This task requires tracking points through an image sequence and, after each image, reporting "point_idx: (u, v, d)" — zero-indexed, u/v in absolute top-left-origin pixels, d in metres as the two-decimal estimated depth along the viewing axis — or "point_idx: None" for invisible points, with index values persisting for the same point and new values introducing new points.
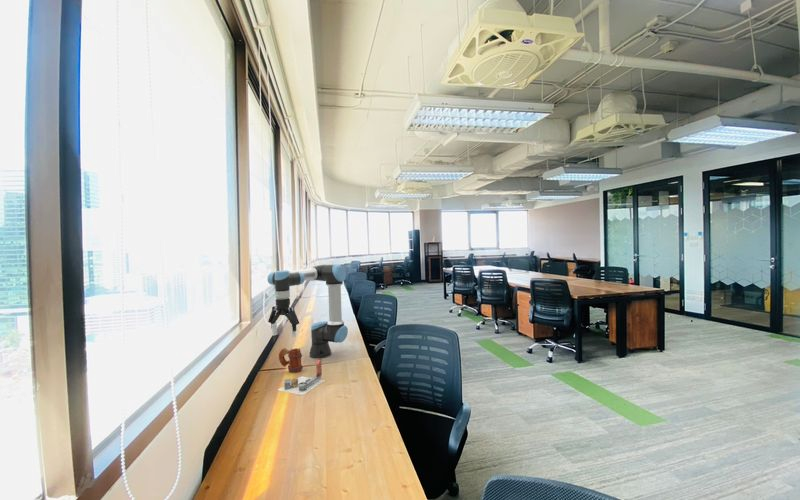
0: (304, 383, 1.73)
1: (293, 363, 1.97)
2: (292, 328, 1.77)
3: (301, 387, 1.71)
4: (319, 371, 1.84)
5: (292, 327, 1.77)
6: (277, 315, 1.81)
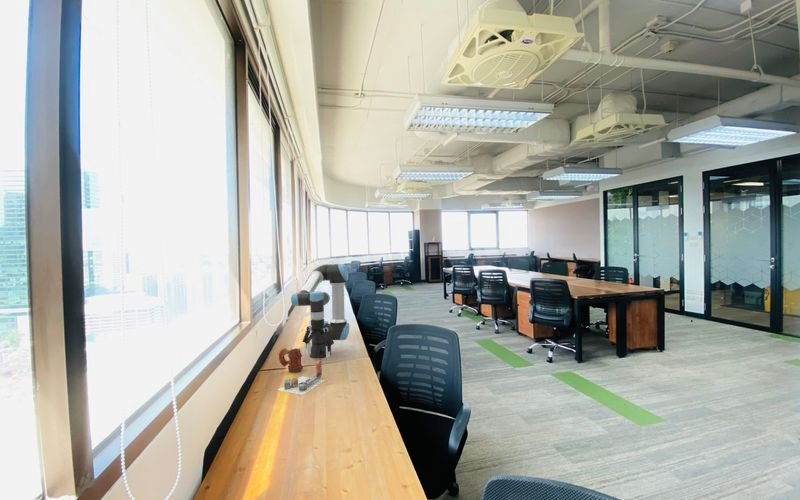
0: (304, 383, 1.73)
1: (293, 363, 1.97)
2: (327, 348, 1.81)
3: (301, 387, 1.71)
4: (319, 371, 1.84)
5: (327, 347, 1.81)
6: (312, 335, 1.85)
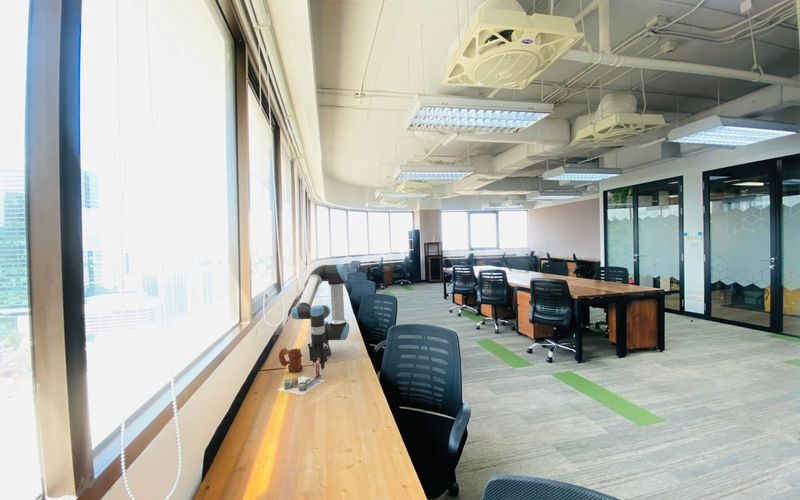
0: (304, 383, 1.73)
1: (293, 363, 1.97)
2: (320, 366, 1.84)
3: (301, 387, 1.71)
4: (319, 371, 1.84)
5: (320, 365, 1.84)
6: (315, 351, 1.85)
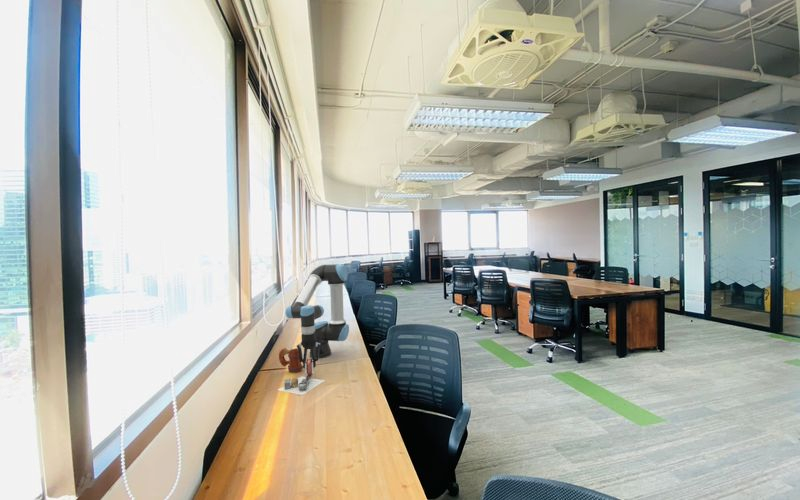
0: (304, 383, 1.74)
1: (293, 363, 1.97)
2: (313, 364, 1.86)
3: (303, 387, 1.71)
4: (311, 370, 1.86)
5: (313, 364, 1.86)
6: (306, 351, 1.85)
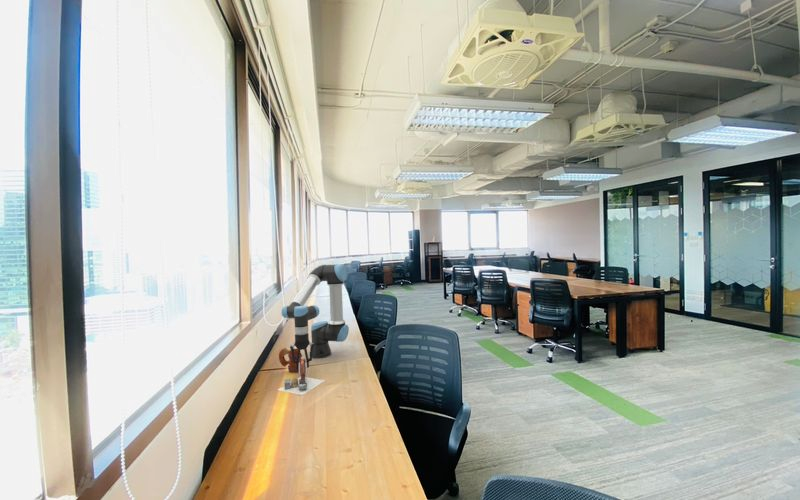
0: (303, 383, 1.74)
1: (293, 363, 1.97)
2: (306, 365, 1.86)
3: (304, 386, 1.71)
4: (304, 371, 1.86)
5: (306, 364, 1.86)
6: (299, 351, 1.85)
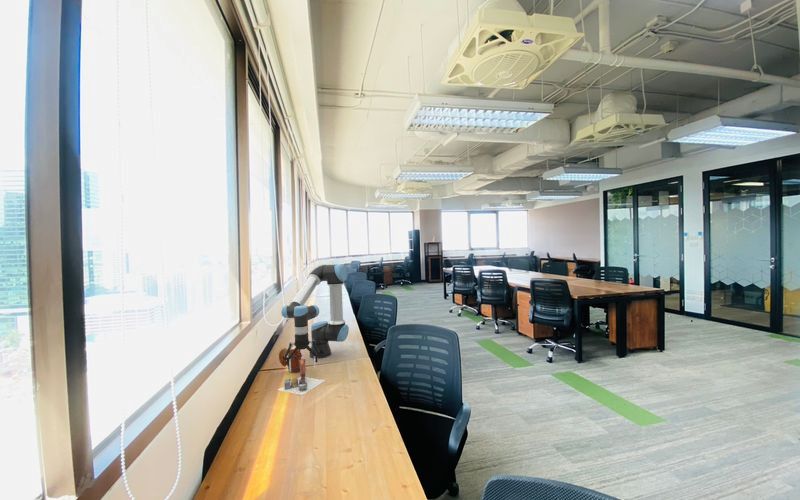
0: (303, 383, 1.74)
1: (293, 363, 1.97)
2: (315, 359, 1.87)
3: (304, 386, 1.71)
4: (304, 371, 1.86)
5: (315, 359, 1.87)
6: None
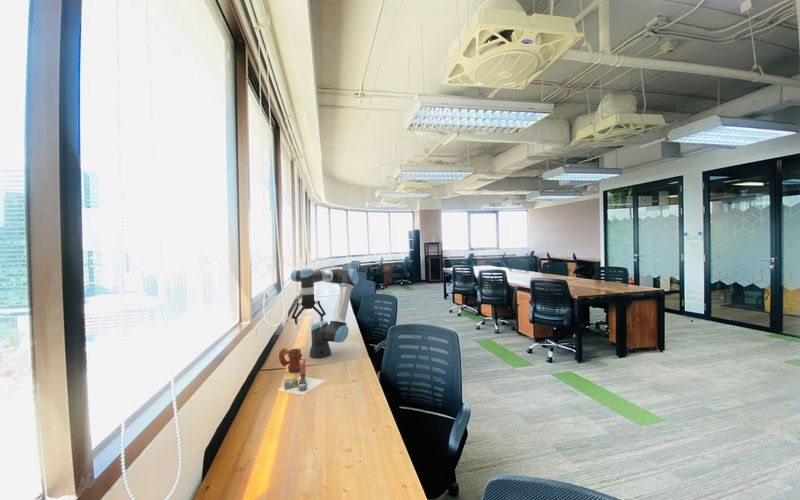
0: (303, 383, 1.74)
1: (293, 363, 1.97)
2: (321, 319, 2.00)
3: (304, 386, 1.71)
4: (304, 371, 1.86)
5: (321, 318, 2.00)
6: None
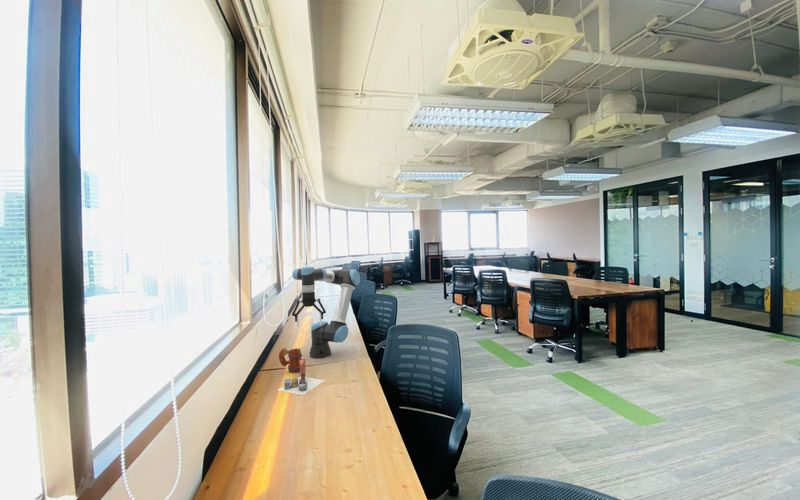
0: (303, 383, 1.74)
1: (293, 363, 1.97)
2: (321, 316, 2.01)
3: (304, 386, 1.71)
4: (304, 371, 1.86)
5: (321, 316, 2.01)
6: (303, 307, 1.98)
